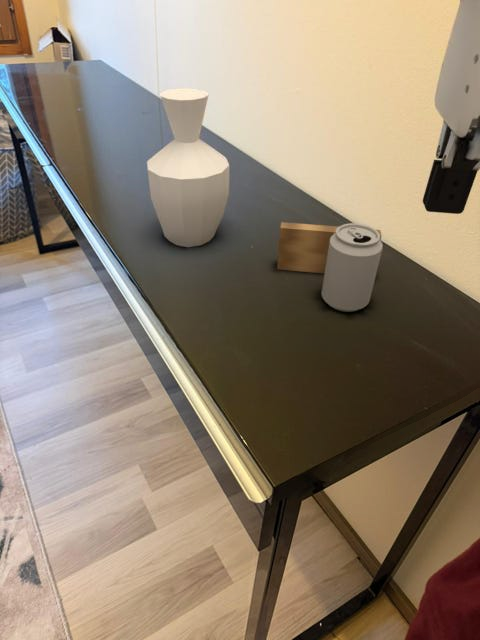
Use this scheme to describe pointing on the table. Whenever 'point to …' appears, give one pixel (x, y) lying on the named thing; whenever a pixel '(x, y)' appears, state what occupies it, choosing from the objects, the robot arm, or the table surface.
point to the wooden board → (304, 247)
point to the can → (351, 267)
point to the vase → (188, 174)
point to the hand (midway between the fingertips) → (441, 208)
